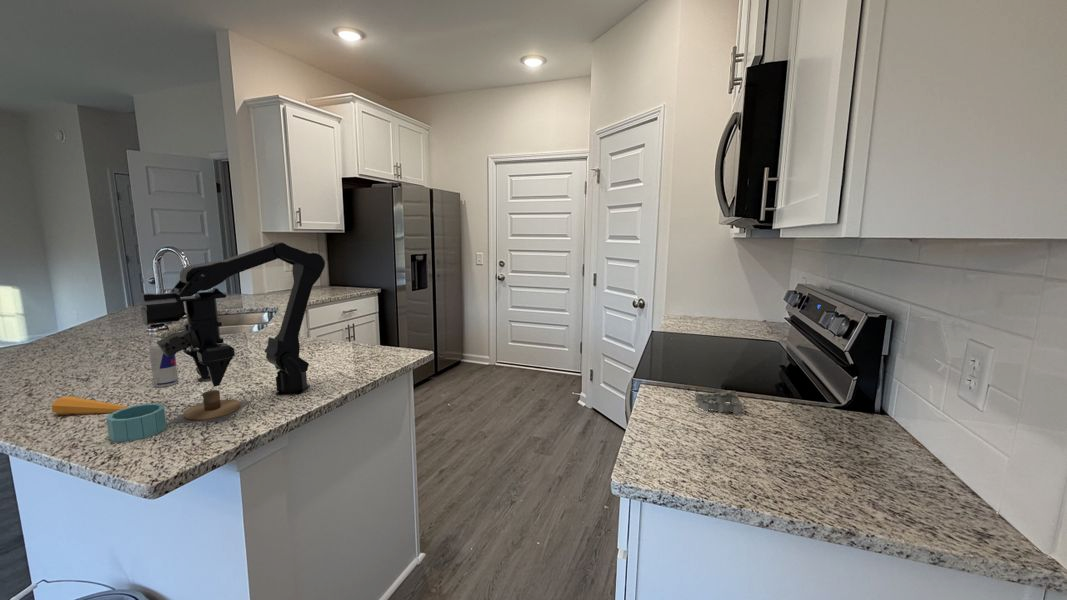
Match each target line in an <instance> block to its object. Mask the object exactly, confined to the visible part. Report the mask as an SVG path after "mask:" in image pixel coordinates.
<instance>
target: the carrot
mask: <svg viewBox="0 0 1067 600" xmlns="http://www.w3.org/2000/svg"><path fill="white" fill-rule="evenodd" d="M128 407H129V406H127V405H122V404H118V403H117V404H116V403H111V402H106V401H100V400H99V401H98V400H95V399H87V398H82V397H75V396H69V395H68V396H64V397H60V398H56V399H55V400H54V402H53V403H52V404H51V412H52V413H55V414H56V415H59V414H60V416H69V415H70V414H75V415H93V414H94V413H98V414H111V413H113V412H116V411H118V410H121V409H124V408H128ZM94 415H95V414H94Z"/></svg>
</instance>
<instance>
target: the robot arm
mask: <svg viewBox="0 0 1067 600" xmlns="http://www.w3.org/2000/svg"><path fill="white" fill-rule="evenodd" d="M275 260H281V261H282V262H284V263H287V264H289V265H291V266H292V270H291V271H292V278H293V285H292V287H291V290H290V294H289V298H288V301H287V304H286V308H285V312H284V315H283V317H282V318H283V319H282V321H281V322H282V323H281V326H280V330H279V332H278V333H277V334H276V336H275V337H268V340H267V346H266V348H265V349H264V353H266V355H265V358H266V360H267V361H268V363H269V364H272V365H273V366H274V367H275V369H276V370H278V371H277V372H276V373H277V374H276V375H277V376H275V384H276V391H277V392H276V393H275V395H276V396H287V395H288V396H290V395H291V396H292V395H301V394H303V393H304V392H305V391H307V389H309V388H310V386H311V385H310V384H308V380H307V377H308V376H307V371H308V368H309V366H310V363H309V362H307V361H306V360H305V359H302V358H301V357H300V350H301V348H300V347H301V345H300V338H299V335H300V332H301V327H302V325H303V321H304V318H305V314H306V310H307V306H308V303H309V299H310V296H311V293H312V289H313V287H314V285H315V283H317V281H318V280H319V279H320V278H321V275H322V273H323V271H324V269H325V267H326V261H325V259H324V257H323V256H322V255H321V254H319V253H316V252H307V251H303V250H301V249H298V248H295V247H293V246H290V245H288V244H286V243H284V242H282V241H281V242H271V243H270V244H267V245H264V246H261V247H259V248H255V249H252V250H249V251H245V252H243V253H240V254H236V255H234V256H231V257H228V258H225V259H222V260H215V261H208V262H201V263H196V264H195V263H194V264H190V265H187V266H185V267H183V268H181V272H180V273H179V280H178V282H177V283H175V285H174V287H173V288H171V290H170V292H164V293H163V292H162V293H142V294H141V307H140V313H141V318H142V322H143V324H144V325H145V326H151V325H158V324H168V323H176V322H180V320H181V319H183V317H185V314H186V319H187V322H185V324H184V325H183V327H184V328H183V330H181V331H179V332H175V333H173V334H171V335H169V336H167V337H164V338H162V339H160V340H158V341H156V343H157V344H158V346H159V347H160V349H161V350H162V352H163V353H164V354H165V355H166V356H168V357H169V356H172V355H175V356H176V354H177V353H179V352H181V351H182V352H183V353H184V354H186V355H188V356H189V357H191V358H192V359H193V362H194V364H195V367H196V368H198V371H199V373H200V375H201V376H200V375H199V376H200V378H201V377H202V378H207V377H208V374H210V377H211V380H212V381H211V384H212V386H213V387H218V386H220V385H221V382H222V381H223V379H224V375H225V373H226V371H227V369H228V367H229V365H230V362H231V361H232V360H233V359H234V357H235V356H236V354H235V353H236V352H235V348H234V347H232V346H231V345H229V344H227V343H225V342H224V338H223V337H221V332H220V331H221V330H220V329H221V328H220V327H222V325H223V324H222V321H220V320H219V313H218V305H217V299H225V298H227V294H225V293H223V292H221V291H220V290H219V288H216V286H218V285H220V284H222V283H224V282H225V281H226V280H227V279H229V278H230V277H232V276H234V275H236V274H240V273H242V272H245V271H247V270H250V269H253V268H256V267H258V266H262V265H265V264H266V263H269V262H273V261H275ZM208 290H210V291H208ZM184 303H185V304H184Z"/></svg>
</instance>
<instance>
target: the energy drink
mask: <svg viewBox="0 0 1067 600" xmlns="http://www.w3.org/2000/svg"><path fill="white" fill-rule="evenodd" d="M148 350H149V356H150V357H149V358H150V364H151V365H150V366H151V372H152V379H153V386H154V387H155V388H165V387H171V386H173V385H174V386H175V385H176V384H178V383H179V375H178V369H177V360H176V354H175V355H172V356H169V357H168V356H166V355H165V354H164V353H163V352H162V350H161V349H160V347H159V346H158V344H157V342H155V343H152V344H150V345H149V349H148Z"/></svg>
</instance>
